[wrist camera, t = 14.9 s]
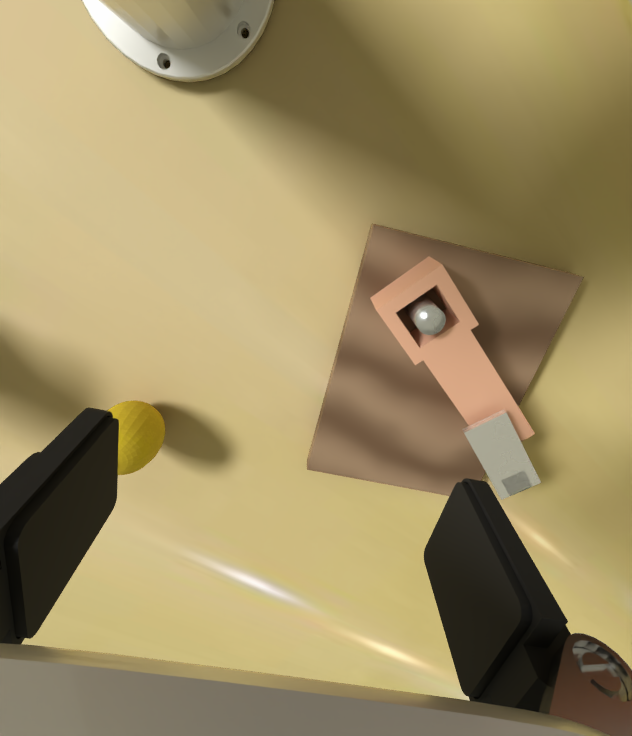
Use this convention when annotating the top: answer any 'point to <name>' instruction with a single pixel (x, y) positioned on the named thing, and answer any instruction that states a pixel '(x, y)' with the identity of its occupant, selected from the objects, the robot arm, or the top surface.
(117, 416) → the lemon
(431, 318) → the cylinder
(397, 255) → the walnut plate
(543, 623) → the robot arm
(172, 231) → the top surface
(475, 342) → the link
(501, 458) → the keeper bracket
